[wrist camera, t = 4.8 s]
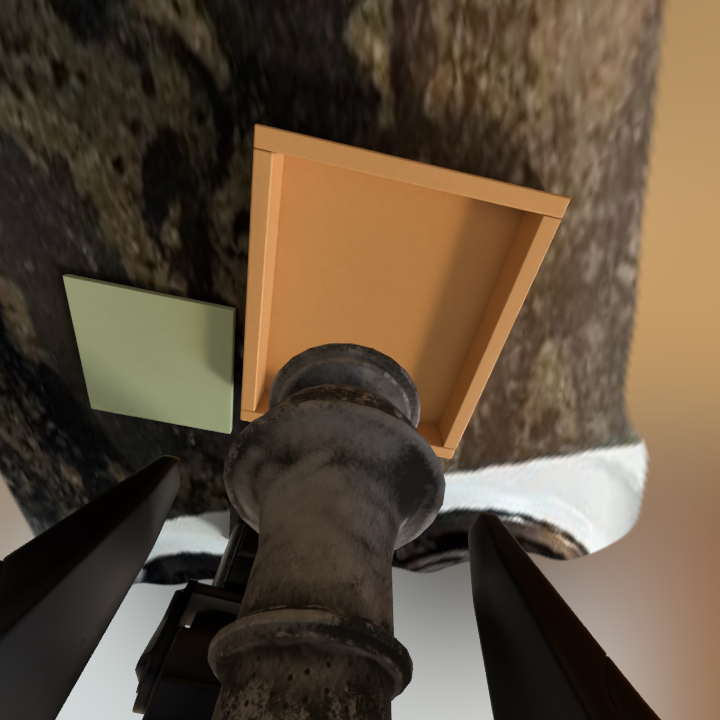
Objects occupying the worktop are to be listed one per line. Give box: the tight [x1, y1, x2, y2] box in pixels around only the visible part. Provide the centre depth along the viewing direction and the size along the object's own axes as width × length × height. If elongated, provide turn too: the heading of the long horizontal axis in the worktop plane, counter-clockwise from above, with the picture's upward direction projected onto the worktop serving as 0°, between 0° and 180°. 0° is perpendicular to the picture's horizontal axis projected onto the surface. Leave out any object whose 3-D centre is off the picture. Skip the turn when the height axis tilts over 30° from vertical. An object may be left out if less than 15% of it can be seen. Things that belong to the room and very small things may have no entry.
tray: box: [241, 124, 570, 459], centre depth 19 cm, size 15×13×2 cm
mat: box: [63, 274, 236, 434], centre depth 22 cm, size 9×9×1 cm
